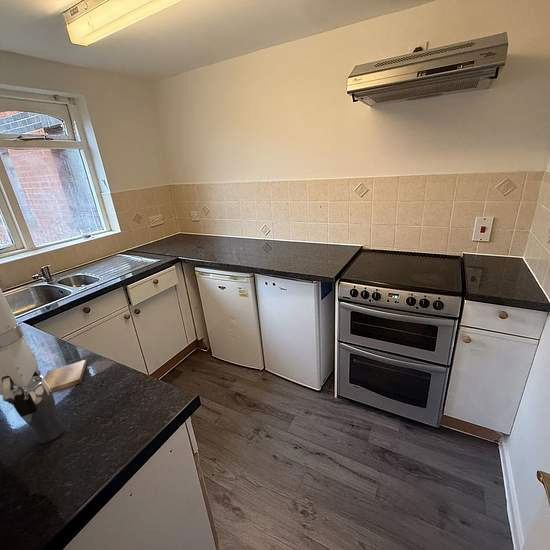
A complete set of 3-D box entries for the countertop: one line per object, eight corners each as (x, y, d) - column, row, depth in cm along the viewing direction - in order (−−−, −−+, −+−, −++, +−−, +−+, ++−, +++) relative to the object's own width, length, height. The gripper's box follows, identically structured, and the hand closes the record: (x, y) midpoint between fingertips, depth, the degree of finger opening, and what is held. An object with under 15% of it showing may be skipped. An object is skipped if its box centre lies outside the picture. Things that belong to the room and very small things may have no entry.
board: (39, 396, 88) (37, 392, 87) (49, 374, 97) (47, 371, 97) (81, 382, 91) (79, 378, 91) (86, 363, 101) (85, 359, 100)
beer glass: (51, 446, 70) (23, 397, 65) (27, 444, 71) (-2, 396, 66) (74, 422, 76) (51, 375, 71) (52, 420, 78) (27, 374, 72)
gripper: (-4, 325, 70) (28, 385, 77) (-44, 367, 55) (0, 437, 61) (33, 316, 73) (61, 374, 79) (5, 353, 57) (42, 421, 64)
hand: (34, 401), depth 70 cm, fingers open, 7 cm apart
